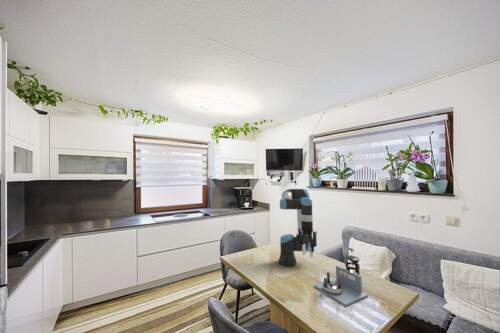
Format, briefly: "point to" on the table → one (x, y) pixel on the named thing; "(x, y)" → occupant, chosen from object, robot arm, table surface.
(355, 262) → the french press
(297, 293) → the table surface
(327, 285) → the capstan
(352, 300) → the stand
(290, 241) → the robot arm
